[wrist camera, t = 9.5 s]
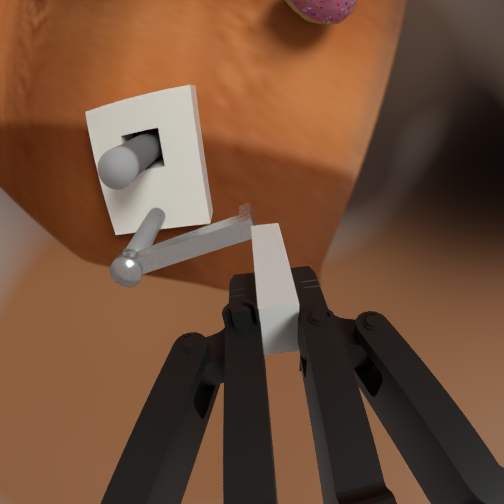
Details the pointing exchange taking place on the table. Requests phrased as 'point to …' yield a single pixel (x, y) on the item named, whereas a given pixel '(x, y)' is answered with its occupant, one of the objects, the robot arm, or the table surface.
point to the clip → (182, 247)
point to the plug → (129, 160)
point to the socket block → (155, 164)
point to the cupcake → (323, 10)
